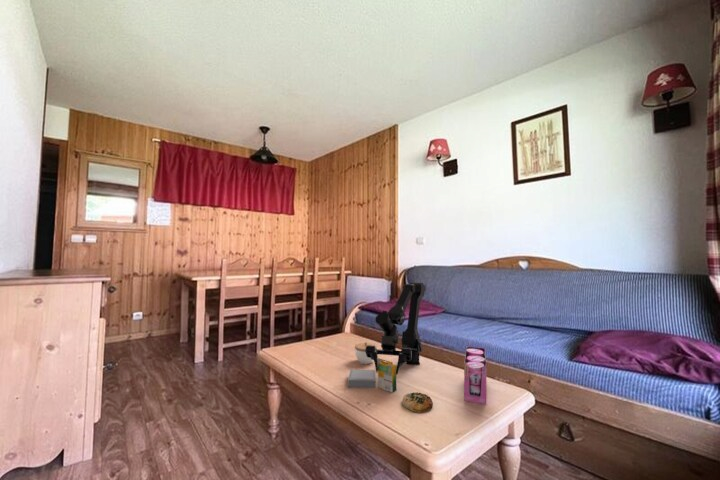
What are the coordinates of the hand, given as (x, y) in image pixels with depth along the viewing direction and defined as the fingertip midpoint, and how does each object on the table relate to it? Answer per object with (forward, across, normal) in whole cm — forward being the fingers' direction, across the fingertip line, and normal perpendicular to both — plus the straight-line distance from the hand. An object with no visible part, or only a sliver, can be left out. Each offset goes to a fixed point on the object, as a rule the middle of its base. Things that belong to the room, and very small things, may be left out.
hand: (386, 373), depth 121 cm
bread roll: (+11, +12, -1) cm, 17 cm away
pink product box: (-1, +34, +11) cm, 36 cm away
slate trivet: (+1, -11, +9) cm, 14 cm away
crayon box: (+4, 0, +6) cm, 7 cm away
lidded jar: (-16, -14, +26) cm, 33 cm away
